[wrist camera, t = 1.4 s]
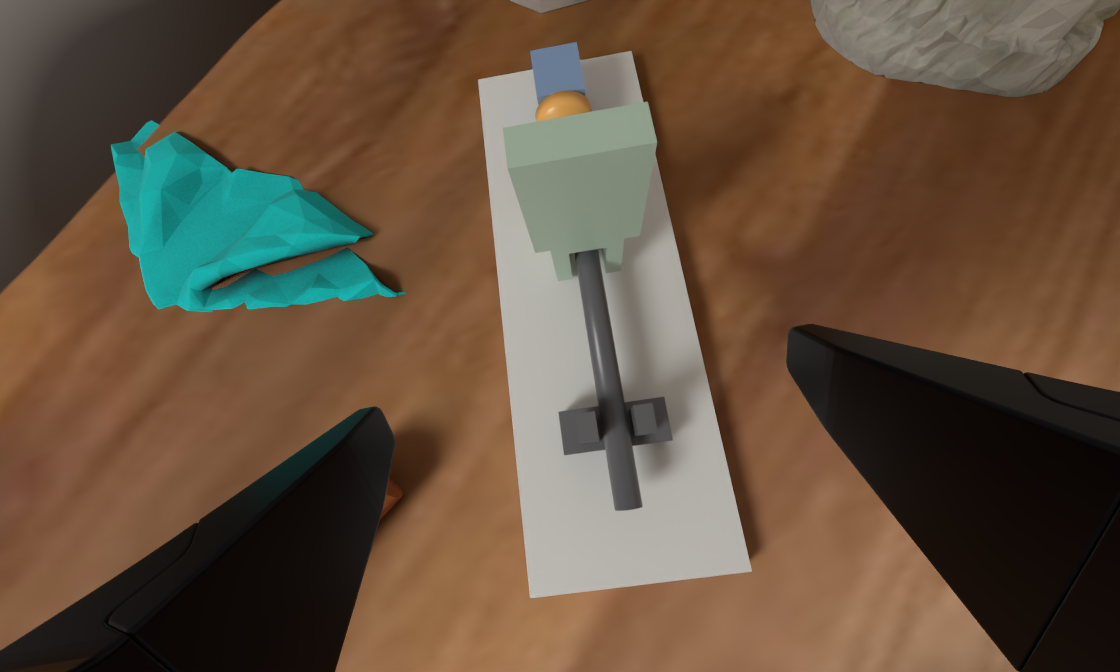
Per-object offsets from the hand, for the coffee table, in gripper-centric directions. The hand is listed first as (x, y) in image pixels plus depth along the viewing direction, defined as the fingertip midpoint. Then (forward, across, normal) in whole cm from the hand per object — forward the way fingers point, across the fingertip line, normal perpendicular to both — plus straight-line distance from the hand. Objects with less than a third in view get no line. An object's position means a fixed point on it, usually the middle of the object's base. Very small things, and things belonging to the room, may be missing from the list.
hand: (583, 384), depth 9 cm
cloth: (+22, +21, -3) cm, 30 cm away
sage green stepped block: (+15, -1, +1) cm, 15 cm away
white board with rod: (+15, -1, +3) cm, 15 cm away
